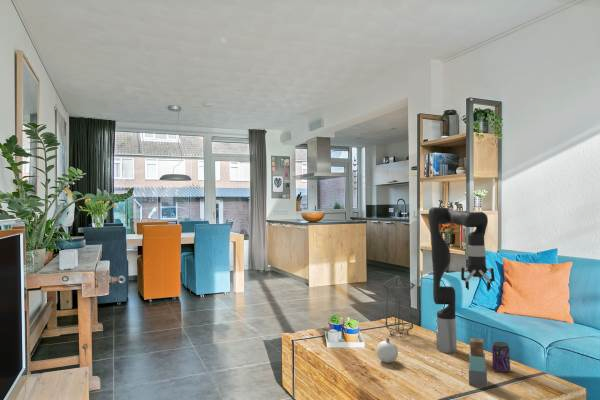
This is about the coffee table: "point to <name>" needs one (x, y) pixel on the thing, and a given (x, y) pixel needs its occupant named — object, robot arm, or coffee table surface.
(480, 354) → the walnut block
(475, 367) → the tower mid
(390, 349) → the ornament
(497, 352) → the beverage can
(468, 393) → the coffee table surface
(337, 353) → the coffee table surface
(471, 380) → the tower base
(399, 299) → the geometric lantern
